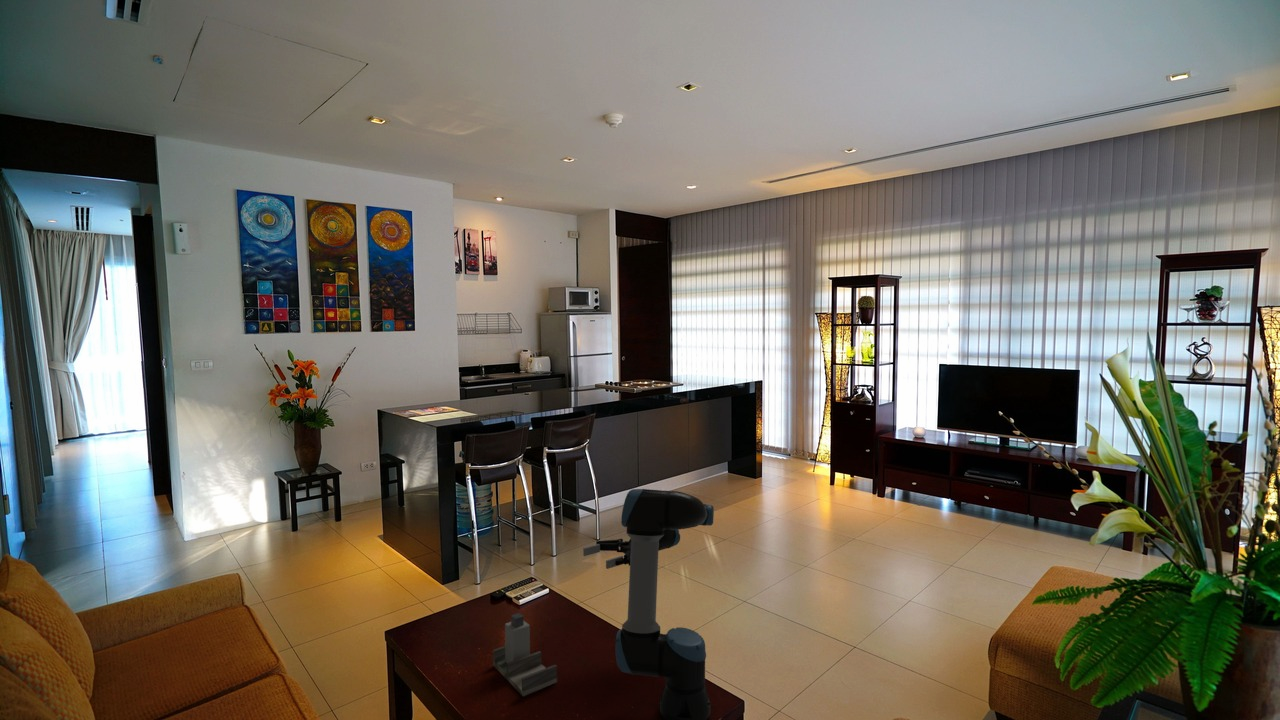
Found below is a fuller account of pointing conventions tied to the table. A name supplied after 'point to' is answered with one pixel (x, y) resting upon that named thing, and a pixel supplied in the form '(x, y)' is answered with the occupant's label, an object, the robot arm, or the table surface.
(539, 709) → the table surface
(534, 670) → the slot rack
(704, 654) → the robot arm
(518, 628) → the grey square bottle
